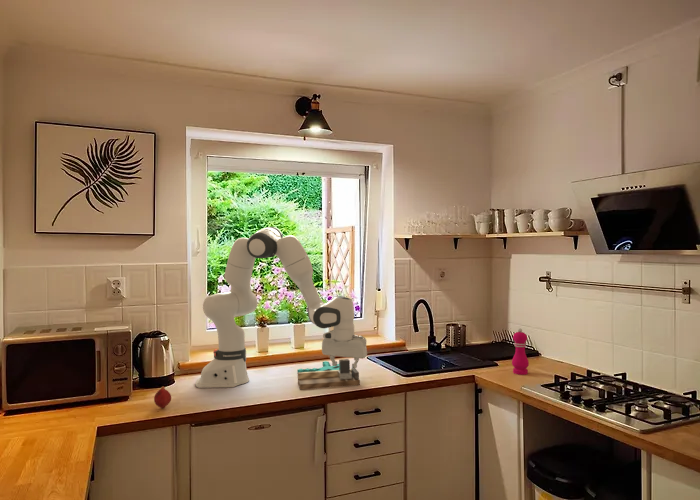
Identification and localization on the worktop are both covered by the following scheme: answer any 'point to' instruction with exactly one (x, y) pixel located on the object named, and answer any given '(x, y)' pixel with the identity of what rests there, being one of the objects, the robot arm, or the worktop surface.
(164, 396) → the onion
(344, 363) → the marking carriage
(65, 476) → the worktop surface
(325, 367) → the alien figure
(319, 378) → the wooden slatted tray
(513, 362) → the pepper mill
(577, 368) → the worktop surface
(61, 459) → the worktop surface
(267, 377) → the worktop surface
